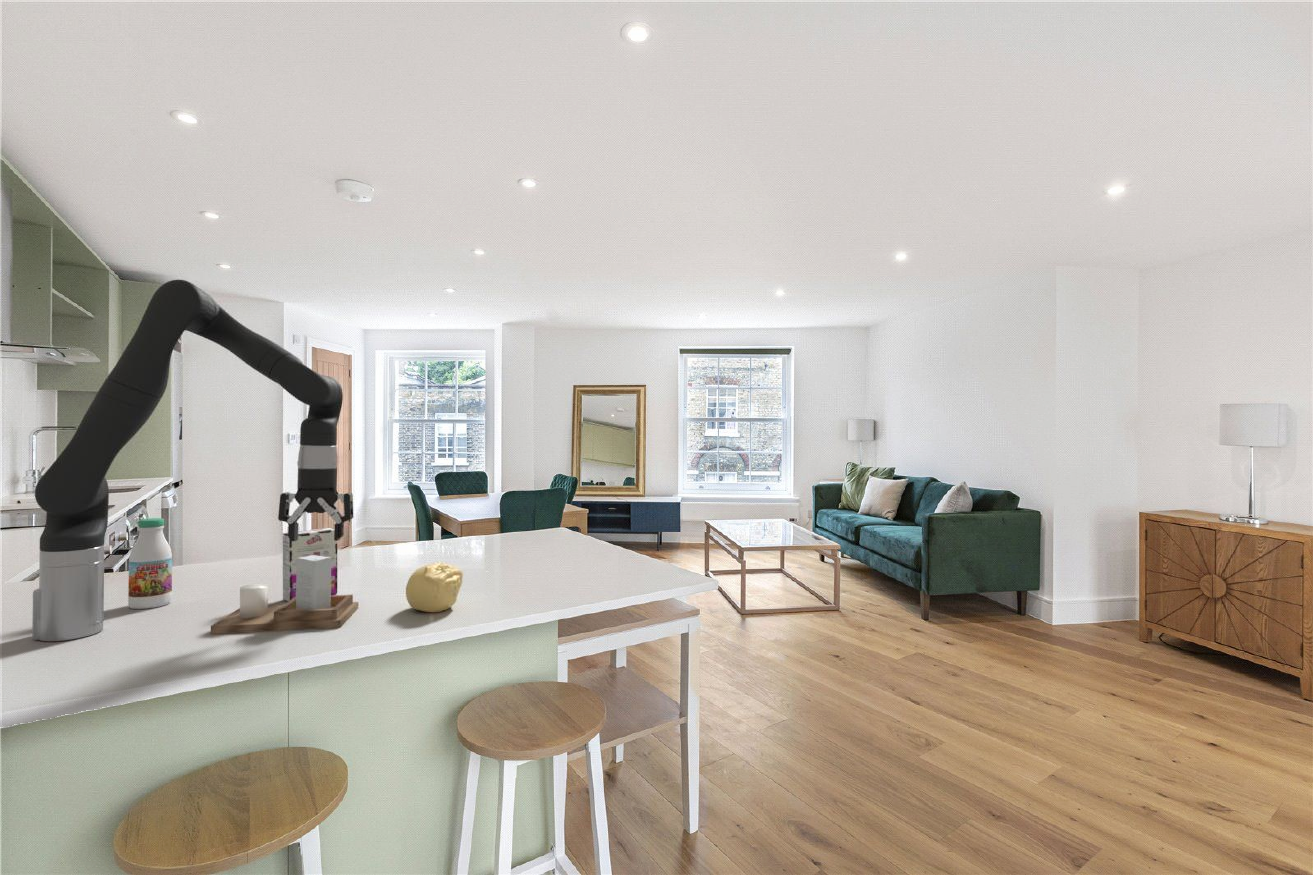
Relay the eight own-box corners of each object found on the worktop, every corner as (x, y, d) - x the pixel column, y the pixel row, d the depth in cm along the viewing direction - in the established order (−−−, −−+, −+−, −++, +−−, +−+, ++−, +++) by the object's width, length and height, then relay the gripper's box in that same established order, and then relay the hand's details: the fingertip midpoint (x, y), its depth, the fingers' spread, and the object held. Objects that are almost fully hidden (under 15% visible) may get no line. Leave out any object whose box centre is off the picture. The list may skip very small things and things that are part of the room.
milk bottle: (121, 606, 138) (122, 519, 137) (161, 598, 144) (162, 515, 144) (137, 611, 134) (138, 522, 134) (178, 603, 141) (179, 518, 141)
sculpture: (443, 618, 134) (444, 569, 134) (395, 614, 136) (396, 566, 136) (469, 604, 145) (470, 559, 145) (424, 600, 147) (425, 556, 147)
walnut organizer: (210, 633, 121) (211, 596, 121) (242, 613, 134) (242, 579, 134) (340, 627, 126) (341, 591, 126) (358, 608, 140) (358, 576, 140)
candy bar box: (328, 590, 154) (329, 527, 154) (338, 594, 151) (338, 529, 151) (280, 599, 145) (281, 532, 145) (289, 603, 142) (290, 534, 142)
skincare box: (331, 611, 132) (332, 557, 132) (313, 617, 128) (314, 560, 128) (313, 607, 134) (314, 554, 134) (294, 612, 130) (295, 557, 130)
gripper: (357, 465, 136) (355, 537, 136) (288, 464, 133) (286, 537, 133) (348, 467, 129) (346, 543, 129) (274, 466, 126) (272, 544, 126)
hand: (315, 540), depth 131 cm, fingers open, 8 cm apart
